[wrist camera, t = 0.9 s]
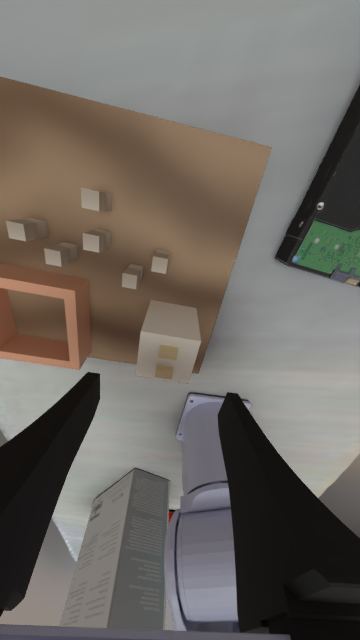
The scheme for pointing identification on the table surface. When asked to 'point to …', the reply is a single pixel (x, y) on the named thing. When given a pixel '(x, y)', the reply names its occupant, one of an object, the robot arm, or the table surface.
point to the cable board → (119, 212)
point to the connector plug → (168, 342)
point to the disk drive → (331, 211)
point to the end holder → (75, 292)
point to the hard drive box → (122, 558)
